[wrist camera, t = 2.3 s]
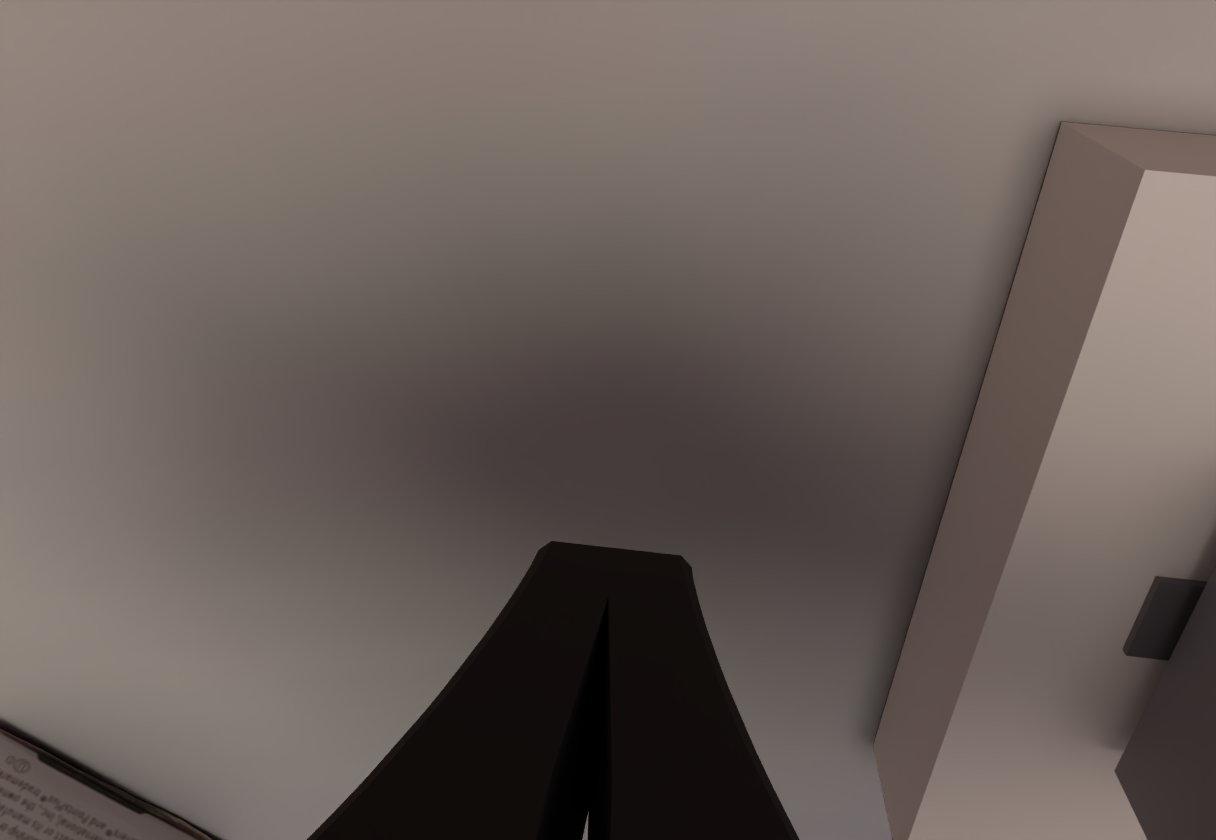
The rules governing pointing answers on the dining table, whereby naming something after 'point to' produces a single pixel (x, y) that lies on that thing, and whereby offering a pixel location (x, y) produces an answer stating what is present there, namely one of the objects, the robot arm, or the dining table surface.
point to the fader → (1178, 738)
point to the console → (1069, 509)
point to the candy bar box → (72, 802)
